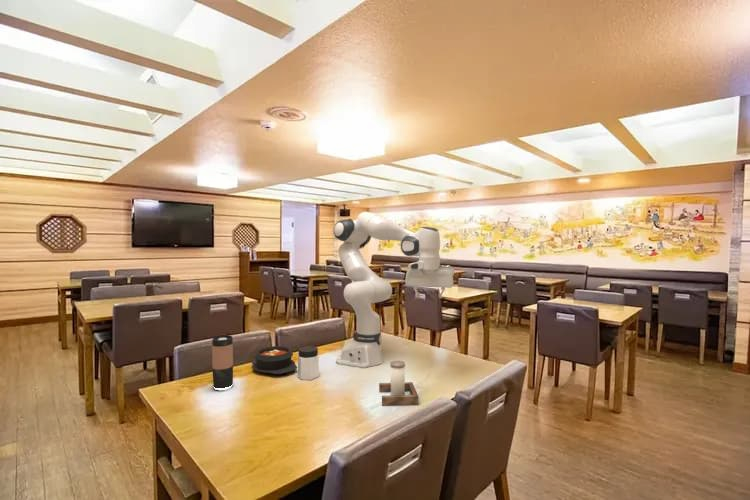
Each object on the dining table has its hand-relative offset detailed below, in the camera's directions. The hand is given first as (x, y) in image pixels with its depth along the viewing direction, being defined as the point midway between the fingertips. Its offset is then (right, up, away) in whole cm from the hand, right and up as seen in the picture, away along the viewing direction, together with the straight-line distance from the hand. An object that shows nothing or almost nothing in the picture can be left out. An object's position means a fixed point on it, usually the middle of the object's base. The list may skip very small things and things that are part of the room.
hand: (429, 297), depth 158 cm
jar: (-52, -34, +1) cm, 62 cm away
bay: (-14, -35, -20) cm, 43 cm away
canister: (-15, -35, -20) cm, 43 cm away
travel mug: (-83, -35, -11) cm, 91 cm away
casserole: (-69, -34, +10) cm, 78 cm away
